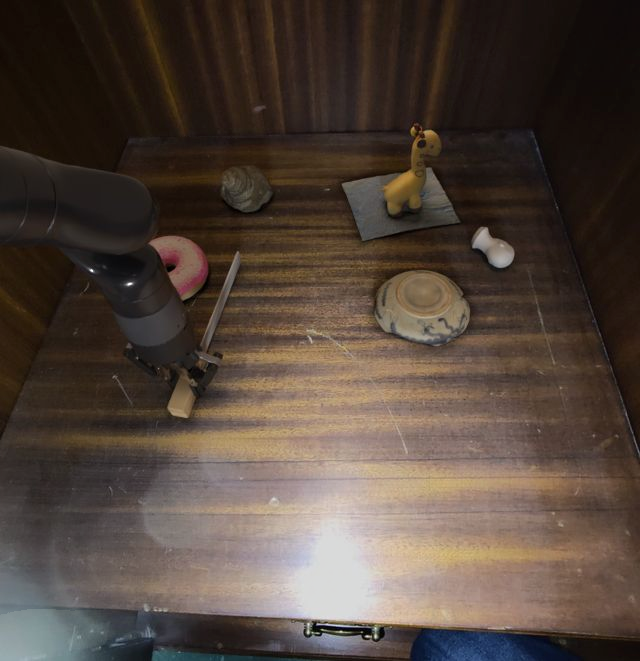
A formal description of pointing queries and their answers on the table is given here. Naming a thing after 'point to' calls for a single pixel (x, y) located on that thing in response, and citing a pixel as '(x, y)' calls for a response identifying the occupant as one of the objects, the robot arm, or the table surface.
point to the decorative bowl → (422, 307)
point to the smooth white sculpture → (493, 248)
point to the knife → (182, 392)
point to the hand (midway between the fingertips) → (190, 389)
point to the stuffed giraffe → (402, 195)
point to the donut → (183, 263)
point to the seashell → (245, 188)
